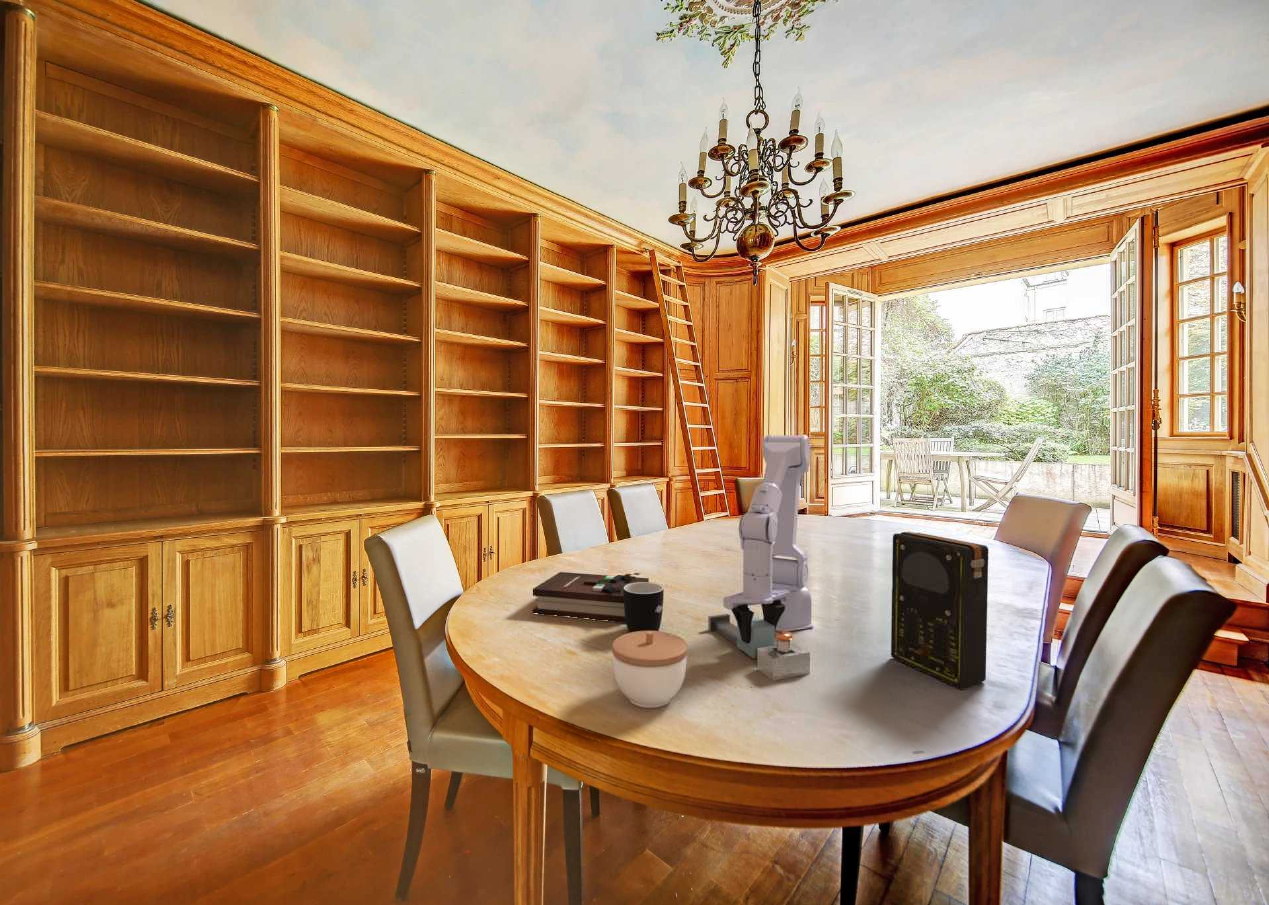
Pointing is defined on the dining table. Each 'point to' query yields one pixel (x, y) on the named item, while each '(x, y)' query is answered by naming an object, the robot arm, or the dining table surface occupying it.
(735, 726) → the dining table surface
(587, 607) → the decorative book
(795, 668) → the grey rectangular block
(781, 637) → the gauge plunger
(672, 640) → the lidded bowl
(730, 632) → the rail
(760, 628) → the carriage
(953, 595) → the voltmeter
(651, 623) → the mug
